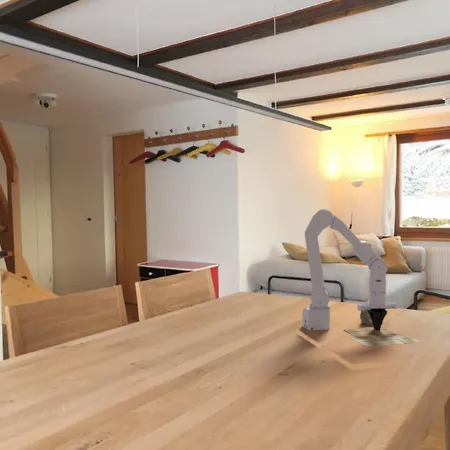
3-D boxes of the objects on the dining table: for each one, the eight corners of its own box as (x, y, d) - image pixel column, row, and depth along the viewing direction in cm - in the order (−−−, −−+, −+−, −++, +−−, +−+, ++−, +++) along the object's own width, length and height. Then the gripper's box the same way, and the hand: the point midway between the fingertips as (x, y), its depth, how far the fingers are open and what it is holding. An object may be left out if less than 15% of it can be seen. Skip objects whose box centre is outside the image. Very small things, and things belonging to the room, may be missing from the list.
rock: (377, 328, 177) (360, 306, 181) (366, 338, 180) (349, 315, 184) (390, 323, 186) (373, 301, 190) (379, 332, 189) (362, 310, 193)
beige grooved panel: (366, 350, 155) (366, 346, 154) (350, 342, 164) (350, 337, 164) (421, 346, 159) (421, 341, 159) (403, 338, 169) (403, 333, 169)
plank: (356, 341, 165) (356, 337, 165) (343, 333, 174) (343, 329, 174) (396, 338, 169) (396, 334, 169) (381, 330, 178) (381, 326, 178)
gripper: (364, 294, 168) (364, 333, 169) (402, 292, 172) (401, 331, 172) (354, 291, 175) (354, 328, 175) (390, 289, 178) (390, 326, 179)
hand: (376, 329), depth 174 cm, fingers closed, pressing on plank
